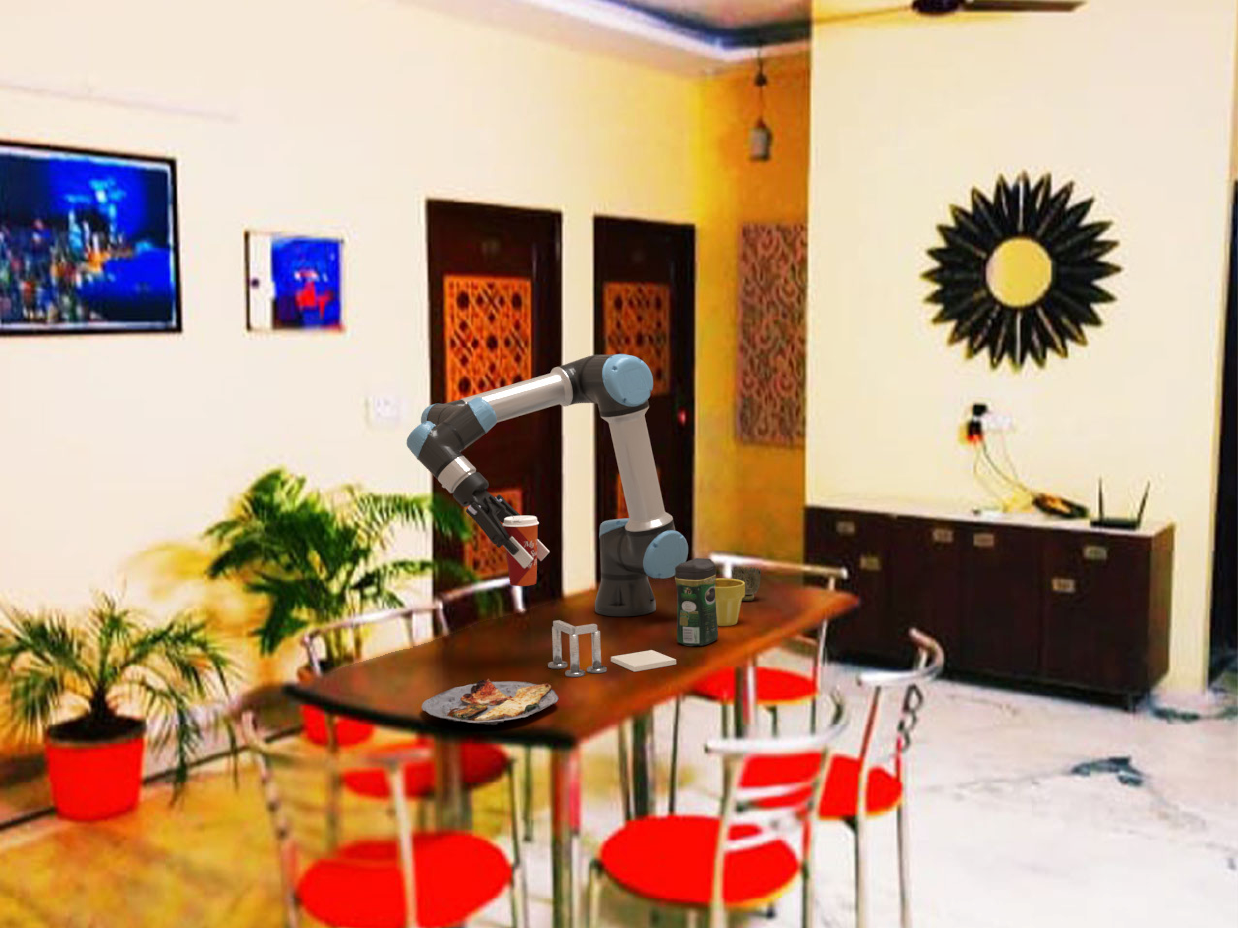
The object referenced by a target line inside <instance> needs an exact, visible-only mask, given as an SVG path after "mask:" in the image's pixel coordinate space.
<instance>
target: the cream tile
mask: <svg viewBox="0 0 1238 928" xmlns="http://www.w3.org/2000/svg"><path fill="white" fill-rule="evenodd" d="M610 662H611V663H614V664H616V665H617V666H620V667H622V668H625V669H627V670H630V671H632V672H640V671H647V670H651V669H657V668H663V667H668V666H674V665H677V659H675V658H673V657H670V656H668V655H665V654H662V653H661V652H658V651H655V650H652V649H649V650H644V651H639V652H632V653H626V654H620V655H614V656H610Z"/></svg>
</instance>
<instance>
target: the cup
mask: <svg viewBox="0 0 1238 928" xmlns="http://www.w3.org/2000/svg"><path fill="white" fill-rule="evenodd" d="M761 573H762V569H761V568H760V569H759V567H758V568H755V567H753V568H752V567H750V568H749V569H748V568H747V567H745V568H744V567H743V568H742V567H741V566H739V567H738V568H737V567H736V568H734V570H731V576H732V577H731V578H732V579H737V580H741V581H744V582H745V596H744V597H743V598H742V601H744V602H752V601H753V600H755V599H754V598H755V595H754V594H757V593H758V591H759V588H760V584H761ZM742 601H741V602H742Z"/></svg>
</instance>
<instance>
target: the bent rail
mask: <svg viewBox="0 0 1238 928" xmlns="http://www.w3.org/2000/svg"><path fill="white" fill-rule="evenodd" d="M552 625H553V626H551V632H552V633H551V634H552V635H551V637H552V638H551V639H552V660H553V661H550V662H548V663H547V667H548V668H549V669H553V670H555V669H556V670H558V669H560V670H561V669H565V668H567V667H568V662H567V661H563V656H562V653H563V652H562V632H563V633H565V634H568V635H569V657H570V658H569V659H570V662H569V663H570V664H569V665H570V669H567V670H565V672H564V673H565V677H567V678H568V677H569V678H579V677H580V678H581V677H584V676H585V675H586V672H587V673H590V674H602V673H606V672H607V666H605V665H602V656H601V655H602V654H601V653H602V651H601V649H602V647H601V630H598V624H596V623H590V624H583V625H578V626H575V625H572V624H570V623H568V622H566V621H562V620H560V619H558V620H553V621H552ZM584 634H586V635H587V634H591V639H590V640H591V665H590V666H587V667H586V671H585V670H584V669H580V653H579V652H580V646H579V645H580V644H579V643H580V642H579V635H584Z"/></svg>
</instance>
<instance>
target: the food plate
mask: <svg viewBox="0 0 1238 928" xmlns="http://www.w3.org/2000/svg"><path fill="white" fill-rule="evenodd" d="M558 701H559V696H558V694H557V693H556V691H555V690H554V689H552V685H551V683H542V684H536V683H531V682H528V681H516V680H515V681H513V680H508V681H506V680H504V681H503V680H502V681H500V680H499V681H491V679H490V678H487V680H485V679H480V680H477V682H476V683H473V684H472V683H470V684H467V685H464V686H456V687H452V688H450V689H447V690H445V691H443V692H440V693H438V694H436V695H433V696H432V697H430V698H427V699H425V700H424V701H423V703H422V704H421V709H422V711H423V712H426V713H428V714H429V715H430V716H433V717H434V718H440V719H446V720H448V721H453V722H465V723H468V724H469V723H470V724H478V725H487V726H488V725H491V726H494V725H498V724H499V723H504V721H512V720H518V719H521V718H522V719H523V718H527V717H529V716H530V715H533V714H535V713H538V712H541V711H542V710H544V709H546V708H548V707H550V706H551V705H553V704H556V703H557V702H558ZM451 710H453V711H452V712H453V713H452V712H451ZM450 713H452V714H451V715H453V716H451V715H448V714H450ZM470 719H471V720H470ZM472 719H474V720H472Z"/></svg>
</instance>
